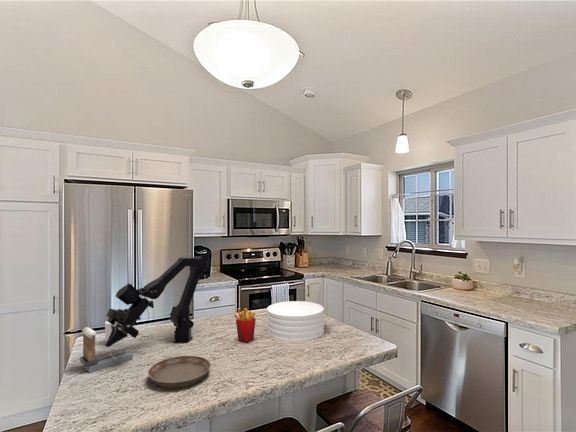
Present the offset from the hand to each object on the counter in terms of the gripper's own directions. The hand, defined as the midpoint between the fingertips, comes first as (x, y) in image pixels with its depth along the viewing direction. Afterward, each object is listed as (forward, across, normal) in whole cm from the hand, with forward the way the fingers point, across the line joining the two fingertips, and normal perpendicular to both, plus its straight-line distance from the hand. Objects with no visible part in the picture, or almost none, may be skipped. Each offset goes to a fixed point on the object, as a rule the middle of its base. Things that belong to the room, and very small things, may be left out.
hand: (106, 346), depth 122 cm
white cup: (-2, -20, +12) cm, 24 cm away
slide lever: (+7, 0, -1) cm, 7 cm away
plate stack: (-48, +30, +59) cm, 82 cm away
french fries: (-30, +23, +41) cm, 55 cm away
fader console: (+4, 0, +5) cm, 7 cm away
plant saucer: (-5, +31, +15) cm, 35 cm away
